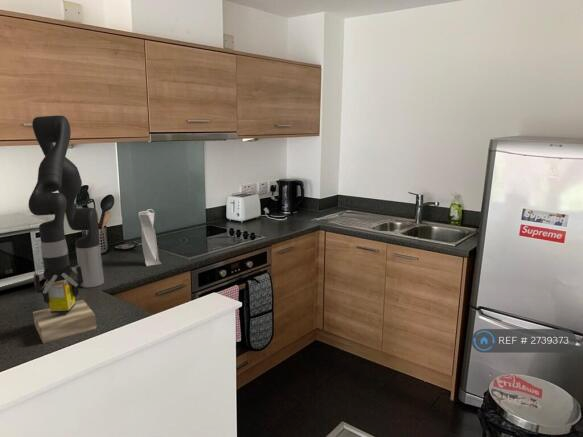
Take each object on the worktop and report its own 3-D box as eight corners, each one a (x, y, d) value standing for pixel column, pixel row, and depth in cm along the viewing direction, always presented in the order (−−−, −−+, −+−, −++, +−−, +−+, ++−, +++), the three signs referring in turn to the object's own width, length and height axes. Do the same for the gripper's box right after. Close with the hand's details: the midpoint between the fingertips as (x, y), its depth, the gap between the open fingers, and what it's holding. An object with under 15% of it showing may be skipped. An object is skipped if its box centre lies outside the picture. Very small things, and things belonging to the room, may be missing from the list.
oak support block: (34, 325, 149) (32, 312, 148) (84, 312, 159) (83, 299, 158) (43, 343, 137) (40, 328, 136) (96, 328, 147) (94, 314, 146)
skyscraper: (162, 265, 211) (157, 208, 205) (144, 268, 208) (139, 210, 201) (158, 260, 219) (154, 206, 212) (142, 263, 215) (136, 207, 209)
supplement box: (75, 304, 151) (71, 275, 148) (69, 312, 145) (64, 281, 142) (57, 305, 150) (53, 276, 147) (50, 313, 144) (45, 282, 142)
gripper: (75, 246, 150) (81, 290, 153) (28, 254, 141) (35, 301, 145) (81, 251, 144) (87, 297, 147) (32, 260, 135) (39, 309, 139)
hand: (61, 299), depth 146 cm, fingers closed on supplement box, 8 cm apart
